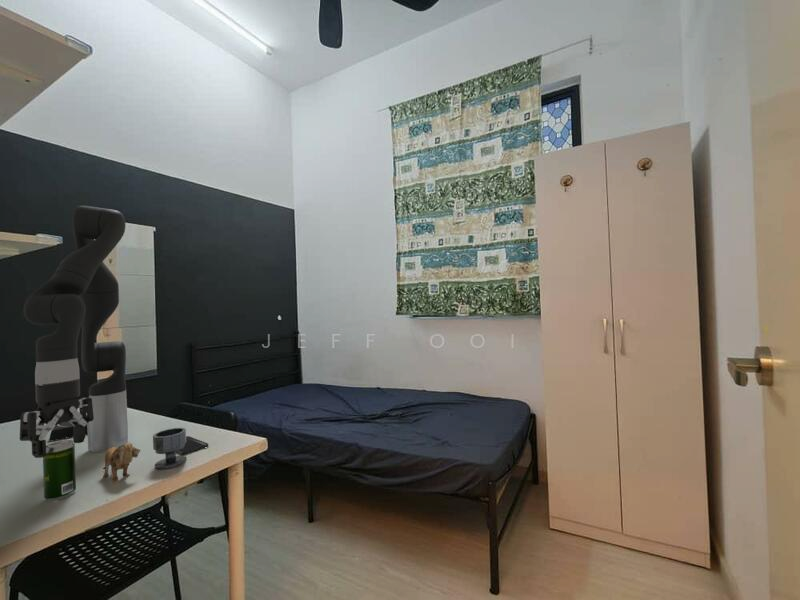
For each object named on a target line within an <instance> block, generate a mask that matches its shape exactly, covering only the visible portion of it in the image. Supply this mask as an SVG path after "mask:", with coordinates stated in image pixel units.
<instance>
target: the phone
mask: <svg viewBox="0 0 800 600" xmlns="http://www.w3.org/2000/svg"><path fill="white" fill-rule="evenodd" d="M205 447H207V448H209V443H208V442H205V441H202V440H200V439H196V438H194V437H191V436H189V435H188V436H187V435H186V443H185V447H184V448H182V449H181V450H178V451H176V454H177V453H178V455H179V454H180V455H179V456H186V455H185V454H187V455H189V454H188V453H190V454H192V453H191V452H193V453H195V452H194V451H197V450H199V451H201V450H200V449H202V450H204V449H206V448H205ZM203 448H204V449H203Z"/></svg>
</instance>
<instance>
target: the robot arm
mask: <svg viewBox="0 0 800 600" xmlns="http://www.w3.org/2000/svg"><path fill="white" fill-rule="evenodd" d="M125 219H126V218H125V217H124V215H123V213H122V212H120V211H119V210H115V209H110V208H103V207H96V206H89V205H78V206H76V207H75V209H74V210H73V214H72V231H73V235H74V242H75V243H74V244H75V250H74V251H73V252H71V253H70V254H68V255H66V257H64V258H63V259H62V260H61V262H60V263H59V265H58V266H57V268H56V270H55V271H54V273H53V275H52V277H51V278H49V279H48V280H47V281H45V283H43V284H42V285H41V286H40V287H38V289H36V290H34V292H32V293H31V295H30V296H28V297H27V299H26V301H25V303H24V305H23V315H24V317H25V320H26V321H28V322H29V323H31V324H32V325H36V326H49V325H51V326H52V325H57V327H56V330H55V331H54V332H53V333H51V334H46V335H43V336H40V337H38V338H37V339H36V341H35V363H36V365H35V370H34V385H35V402H36V403H37V409H36V410H34V411H25V412H22V413H21V414H20V417H19V418H20V421H19V424H20V425H19V441H22V442H28V441H29V442H30V443H31V454H32V456H33V457H34V458H35V459H37V458H39V459H43V457H45V456H46V445H47V440H46V439H45V438H47V437H46V436H47V435H48V434H49V432H51V431H52V429H53V428H54V426H55V425H58V424H61V423H63V422H70V423H71V424H72V425H73V426H74V428H73V437H72V438H73V443H74V444H81V443H83V442H85V439H86V434H85V426H86V424H87V432H88V434H87V450H88V451H91V452H92V453H103V452H107V450H108V449H110V448H111V447H117V448H118V447H119V446H122V445H124V444H127V443H129V429H128V428H129V426H128V405H127V404H128V402H127V400H128V399H127V384H126V383H127V381H126V364H127V361H126V360H127V351H126V345H125V343H124V342H123V341H120V340H119V341H118V340H116V341H103V342H96V338H97V336H98V334H99V332H100V330H101V328H103V326H104V325H105V324H106V322H107V321H108V319H109V318H111V316H112V315H113V314H114V312H115V311H117V310H116V309H117V308H118V306H119V303H120V295H119V294H120V293H119V292H120V289H119V286H120V285H119V282H118V279H117V278H116V276H115V275H114V274H113V272H112V271H111V270H110V269H109V267H108V266H107V265H106V264H105V262H104V261H105V259H106V258H107V257H108V256H109V255H110V253H112V251H113V250H114V249H115V247H116V246H117V245H118V244H119V243H120V241H121V240H122V238H123V237H124V234H125V231H126V220H125ZM80 332H81V345H80V347H81V349H80V350H81V351H80V353H81V355H80V357H81V358H80V361H81V367H82V370H83V371H84V372H85V373H87V374H93V373H99V372H100V373H101V372H103V373H104V372H110V371H112V373H111V375H109V376H107V378H105V379H103V380H100V381H98V382H96V383H93V384H91V385H90V386H89V387H88V397H80V396H81V381H80V379H81V376H80V365H79V361H78V360H79V359H78V339H79V335H80ZM79 397H80V398H79ZM78 398H79V399H78ZM78 410H79V411H78ZM37 420H38V421H37Z"/></svg>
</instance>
